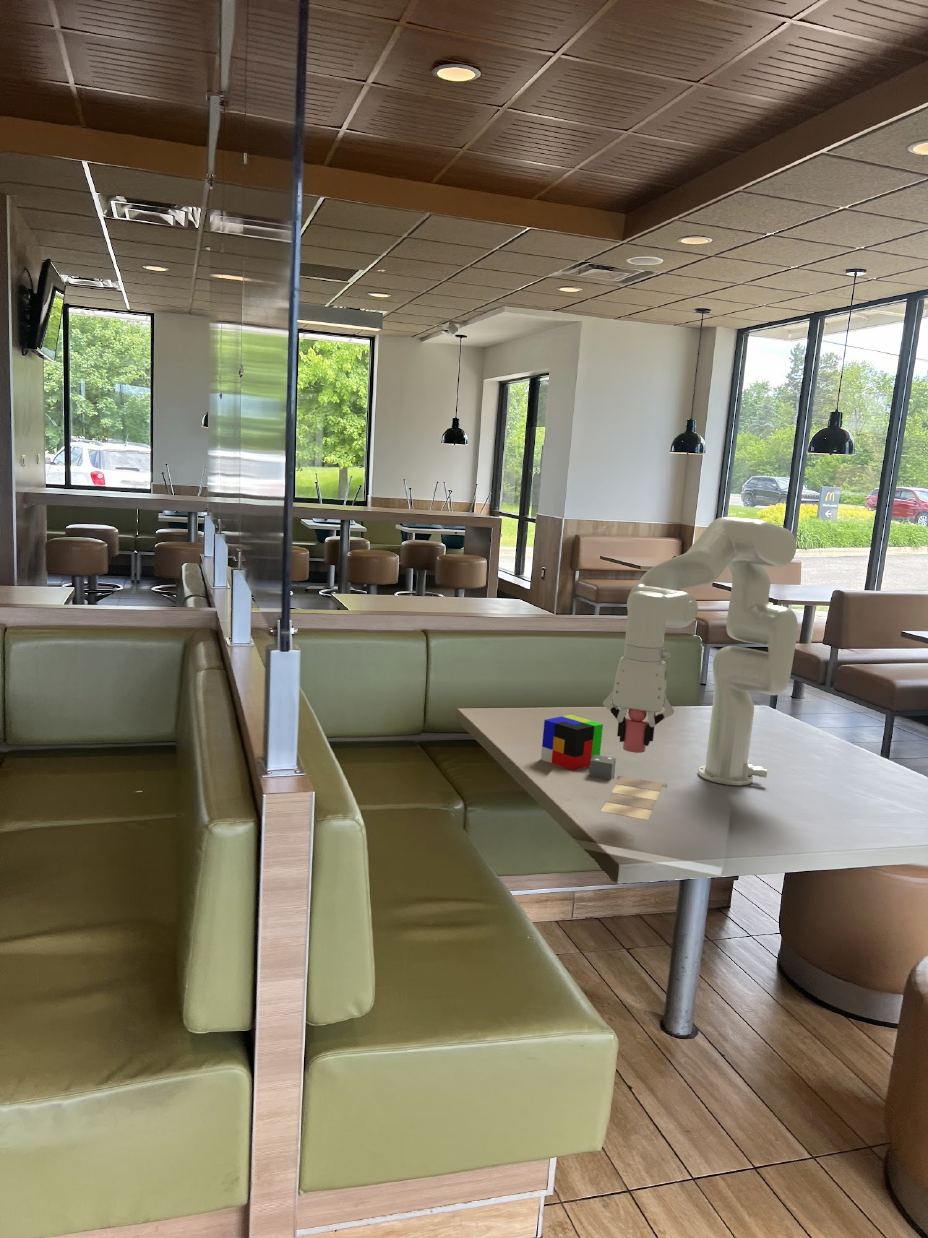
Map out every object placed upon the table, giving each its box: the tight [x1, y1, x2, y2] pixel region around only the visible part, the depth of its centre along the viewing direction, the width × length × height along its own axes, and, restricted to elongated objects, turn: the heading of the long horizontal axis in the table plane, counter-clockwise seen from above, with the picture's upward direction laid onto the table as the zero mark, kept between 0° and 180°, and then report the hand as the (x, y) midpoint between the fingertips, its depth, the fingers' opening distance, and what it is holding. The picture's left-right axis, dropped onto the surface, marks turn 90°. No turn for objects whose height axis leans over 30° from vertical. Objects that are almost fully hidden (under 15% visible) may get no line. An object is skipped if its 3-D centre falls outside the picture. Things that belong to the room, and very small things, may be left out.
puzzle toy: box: [540, 714, 604, 772], centre depth 221 cm, size 10×10×10 cm
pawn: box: [622, 709, 649, 754], centre depth 184 cm, size 4×4×9 cm
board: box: [600, 775, 668, 821], centre depth 196 cm, size 11×27×1 cm, turn 161°
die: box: [588, 754, 617, 781], centre depth 209 cm, size 5×5×5 cm
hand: (634, 741), depth 185 cm, fingers closed on pawn, 4 cm apart
